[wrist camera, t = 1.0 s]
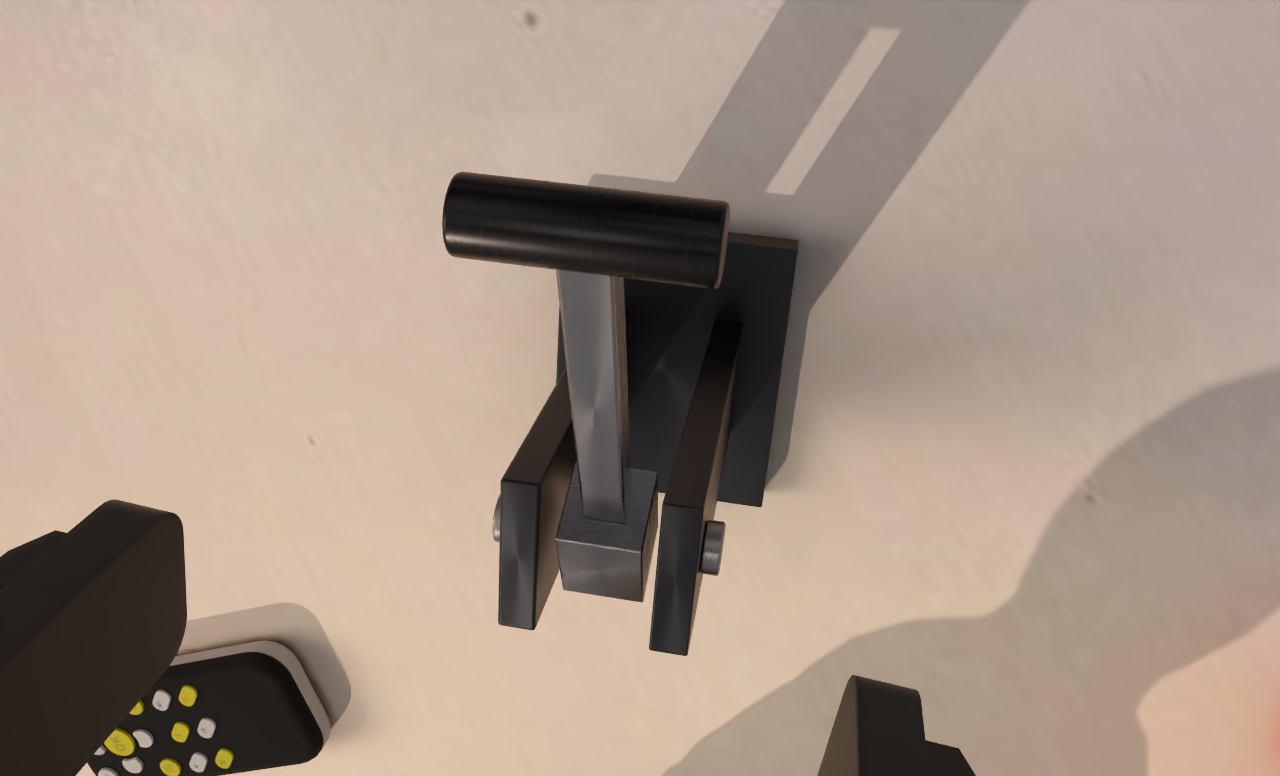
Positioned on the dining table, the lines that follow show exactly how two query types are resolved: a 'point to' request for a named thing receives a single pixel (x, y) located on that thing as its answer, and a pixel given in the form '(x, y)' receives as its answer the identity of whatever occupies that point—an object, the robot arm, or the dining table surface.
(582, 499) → the lever
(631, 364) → the bracket
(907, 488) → the dining table surface
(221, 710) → the remote control
